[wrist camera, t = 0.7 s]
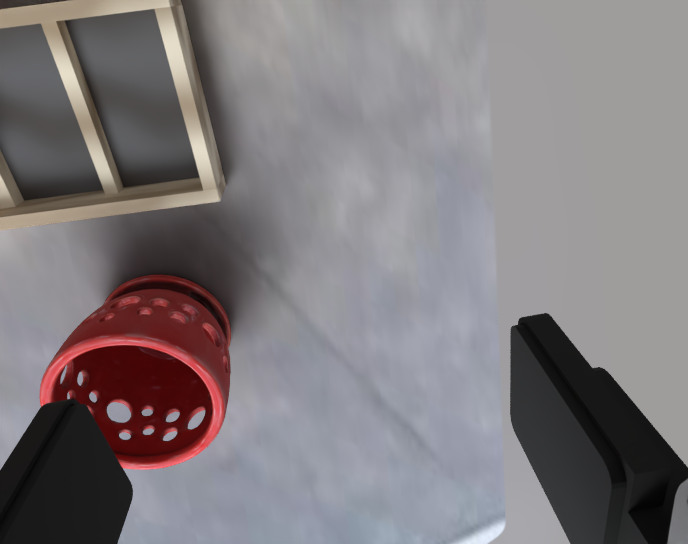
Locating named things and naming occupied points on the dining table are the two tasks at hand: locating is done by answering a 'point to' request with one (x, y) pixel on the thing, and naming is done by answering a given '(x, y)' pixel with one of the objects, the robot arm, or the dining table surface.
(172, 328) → the plant pot
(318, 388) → the dining table surface
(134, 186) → the track
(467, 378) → the dining table surface
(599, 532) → the robot arm
